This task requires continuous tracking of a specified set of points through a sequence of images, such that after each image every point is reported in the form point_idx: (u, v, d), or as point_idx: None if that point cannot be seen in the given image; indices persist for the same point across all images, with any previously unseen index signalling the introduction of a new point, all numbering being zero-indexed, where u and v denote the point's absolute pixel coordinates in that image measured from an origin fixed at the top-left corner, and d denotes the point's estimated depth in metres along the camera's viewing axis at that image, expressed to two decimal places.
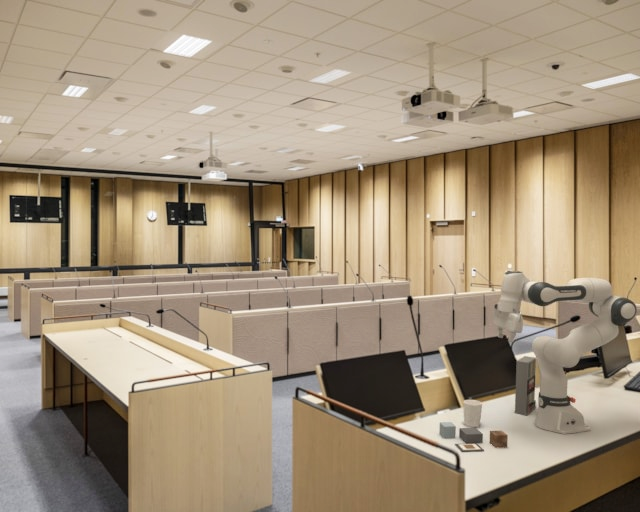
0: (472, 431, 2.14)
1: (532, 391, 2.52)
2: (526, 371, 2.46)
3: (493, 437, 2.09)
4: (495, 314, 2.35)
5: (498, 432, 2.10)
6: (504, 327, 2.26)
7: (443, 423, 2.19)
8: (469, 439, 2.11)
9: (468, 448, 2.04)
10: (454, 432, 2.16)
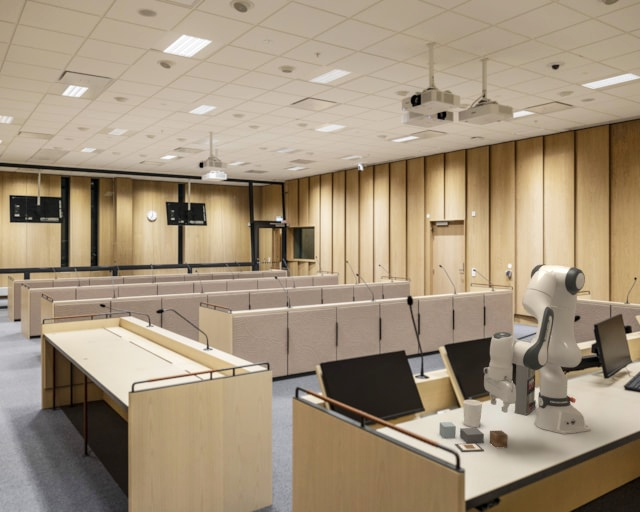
0: (473, 431, 2.13)
1: (532, 391, 2.53)
2: (526, 371, 2.46)
3: (493, 437, 2.09)
4: (486, 378, 2.16)
5: (498, 432, 2.10)
6: (496, 395, 2.08)
7: (443, 423, 2.19)
8: (471, 440, 2.11)
9: (468, 448, 2.04)
10: (454, 432, 2.16)
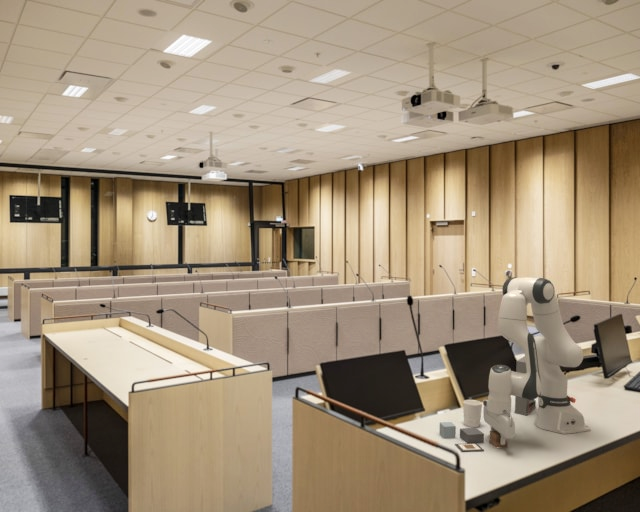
0: (473, 431, 2.13)
1: None
2: (526, 371, 2.46)
3: (493, 437, 2.09)
4: (485, 410, 2.17)
5: (498, 432, 2.10)
6: (495, 428, 2.08)
7: (443, 423, 2.19)
8: (471, 440, 2.10)
9: (468, 448, 2.04)
10: (454, 432, 2.16)
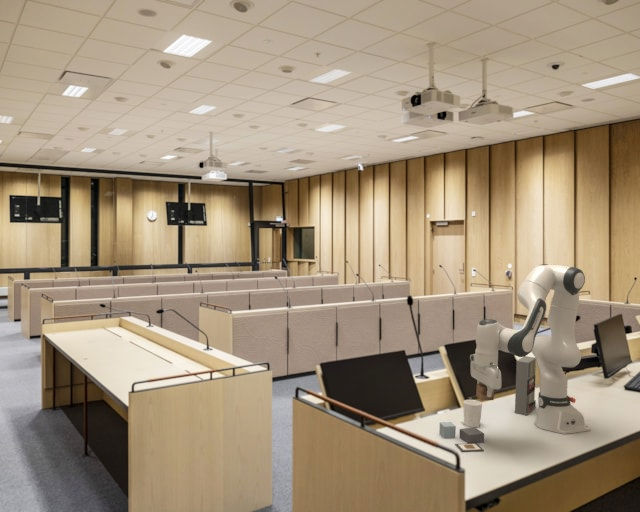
0: (473, 431, 2.14)
1: (532, 391, 2.52)
2: (526, 371, 2.46)
3: (479, 390, 2.10)
4: (472, 365, 2.18)
5: (485, 385, 2.12)
6: (482, 381, 2.10)
7: (443, 423, 2.19)
8: (472, 440, 2.10)
9: (468, 448, 2.04)
10: (454, 432, 2.16)
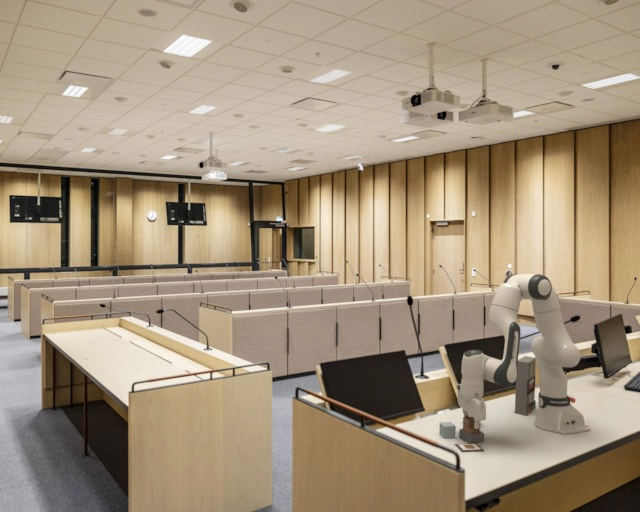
0: None
1: (532, 391, 2.52)
2: (526, 371, 2.46)
3: (466, 423, 2.13)
4: (459, 395, 2.21)
5: (471, 418, 2.15)
6: (468, 411, 2.13)
7: (443, 423, 2.19)
8: (473, 440, 2.10)
9: (468, 448, 2.04)
10: (454, 432, 2.16)
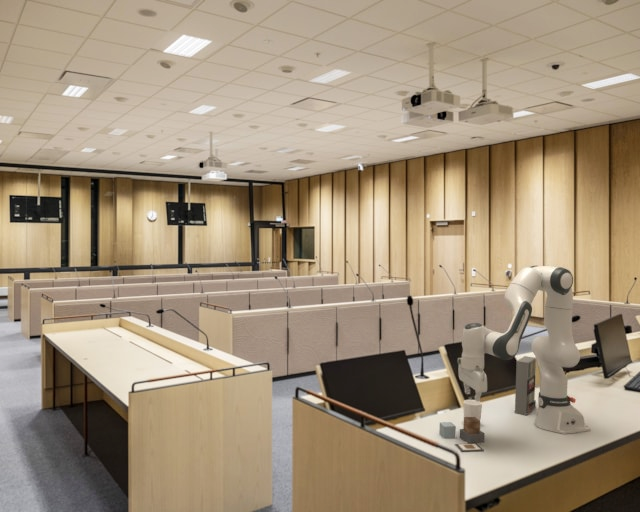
0: None
1: (532, 391, 2.52)
2: (526, 371, 2.46)
3: (466, 423, 2.13)
4: (460, 369, 2.21)
5: (471, 418, 2.15)
6: (469, 384, 2.13)
7: (443, 423, 2.19)
8: (473, 440, 2.10)
9: (468, 448, 2.04)
10: (454, 432, 2.16)
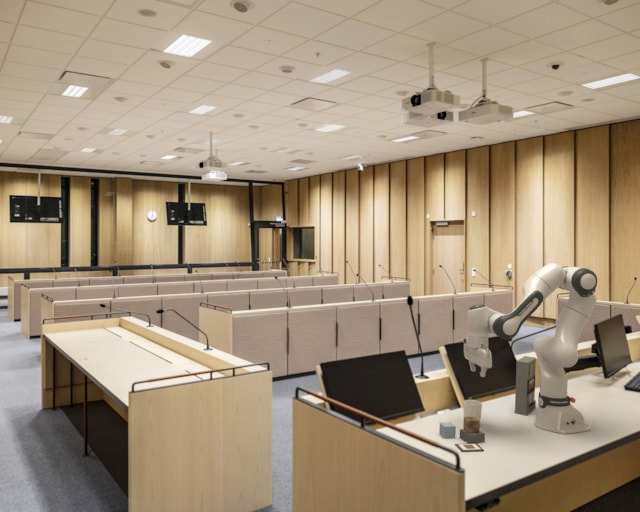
0: None
1: (532, 391, 2.52)
2: (526, 371, 2.46)
3: (466, 422, 2.14)
4: (465, 348, 2.36)
5: (471, 418, 2.15)
6: (474, 362, 2.27)
7: (443, 423, 2.19)
8: (473, 440, 2.10)
9: (468, 448, 2.04)
10: (454, 432, 2.16)
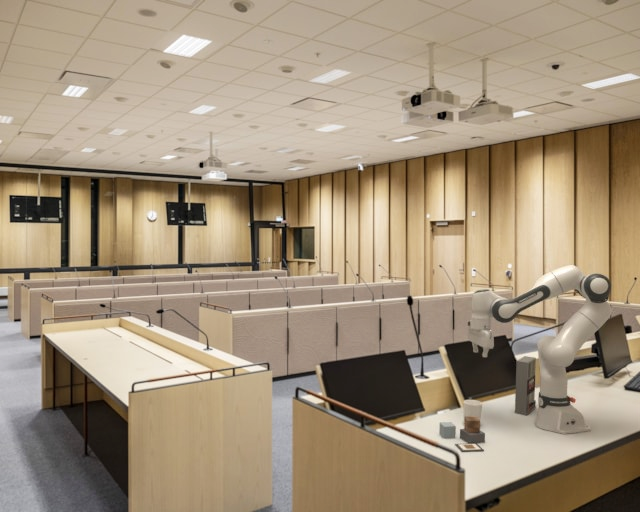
0: None
1: (532, 391, 2.52)
2: (526, 371, 2.46)
3: (466, 422, 2.14)
4: (469, 330, 2.48)
5: (472, 418, 2.15)
6: (477, 343, 2.40)
7: (443, 423, 2.19)
8: (473, 440, 2.10)
9: (468, 448, 2.04)
10: (454, 432, 2.16)
